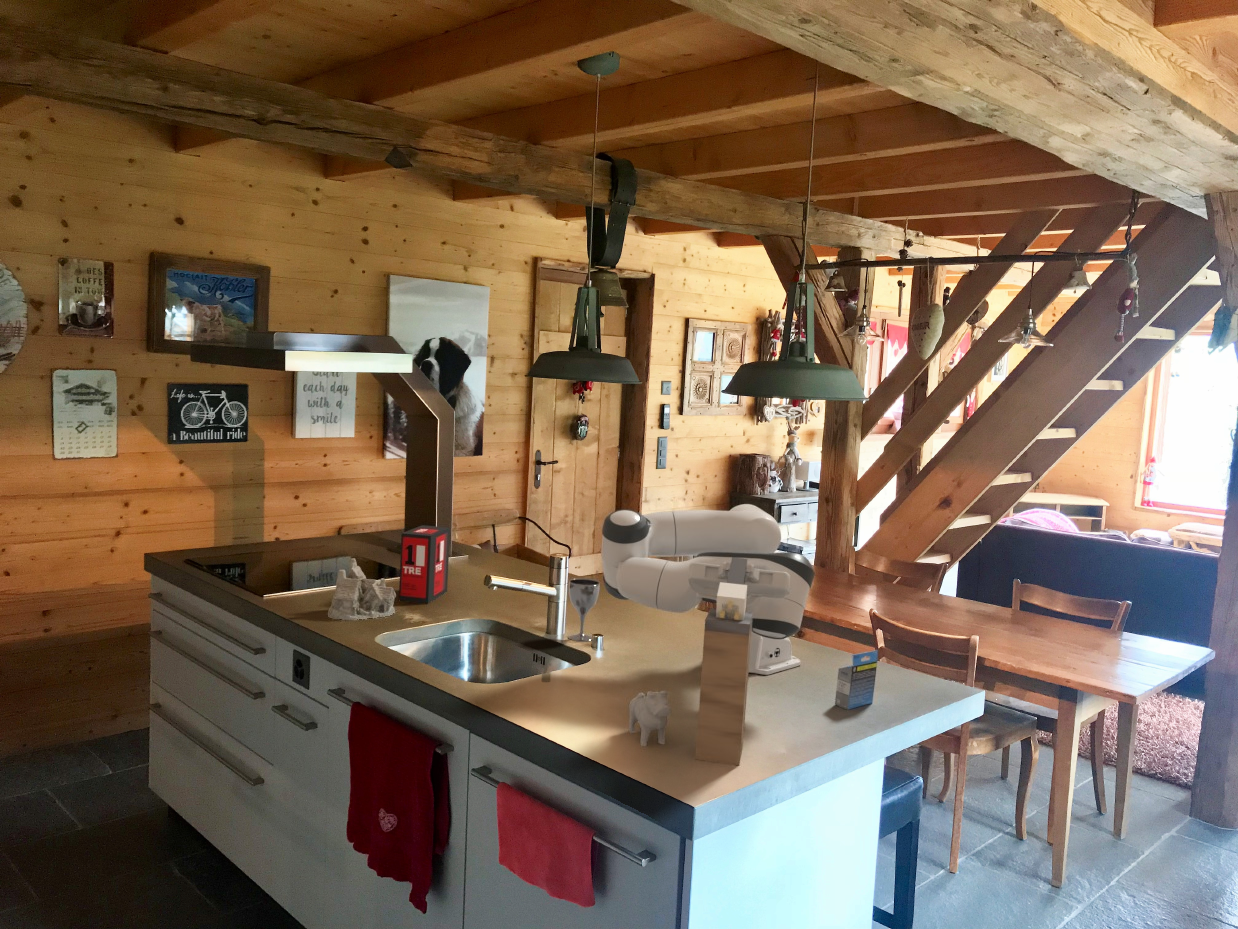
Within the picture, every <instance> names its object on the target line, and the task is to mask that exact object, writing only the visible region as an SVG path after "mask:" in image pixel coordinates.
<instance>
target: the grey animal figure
mask: <svg viewBox="0 0 1238 929" xmlns="http://www.w3.org/2000/svg"><path fill="white" fill-rule="evenodd" d="M668 700H669V699H668V693H667V690H661V691H657V692H656V691H655V692H653V691H652V690H650V691H649V690H648V691H647V694H645V693H644V692H639V693H638V694H637V695H636V697H634V698H632V700H630V702H629V705H628V708H629V709H628V710H629V725H628V732H629V733H630V734H635V733H637V731H636V727H635V725H636V723H637V722H638V723H639V727H640V729H641V731H640V733H641V734H640V740H639V742H640V743H639V745H640V746H644V747H646V746H648V740H649V736H650V733H651V732H653V731H657V743H658V744H661V745H665V744H666V740H665V737H666V733H665V732H666V728H667V725H668V717H669V716H670V714H671V712H672V709H671V708H670V705H669V701H668Z"/></svg>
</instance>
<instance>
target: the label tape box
mask: <svg viewBox="0 0 1238 929" xmlns="http://www.w3.org/2000/svg"><path fill="white" fill-rule="evenodd" d="M878 650H879V649H876V650H872V651H870V650H869V651H866V652H860V653H854V654H852V655H851V656H852V657H851V658H852V660H851V661H852V665H849V666H842V667H839V668H838V672H837V680H836V688H835V691H836V692H835V699H834V700H835V701H834V705H836V706H837V707H840V708H842V709H845V710H847V711H849V710H852V709H856V708H858V707H862V706H867V705H869V704H870V705H871V704H873V701H874V692H875V685H876V677H877V667H878V652H879V651H878ZM864 658H868V659H867V660H862V659H864Z"/></svg>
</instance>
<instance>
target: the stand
mask: <svg viewBox="0 0 1238 929" xmlns="http://www.w3.org/2000/svg"><path fill="white" fill-rule="evenodd" d="M752 618H753V613H749V612H745V615H744V620H734V619H727V618H718V617H716V608H712V607H711V608H710V609H709V611H708V612H707V615H706V616H705V619H704V632H703V648H702V660H701V675H700V689H699V690H700V691H699V704H698V715H697V716H698V718H697V728H696V729H697V731H696V732H697V734H696V743H695V744H696V747H695V759H694V760H695V761H696V760H697V761H698V760H699V761H705V762H710V763H711V762H712V763H720V764H727V765H734V766H740V765H741V760H742V753H743V748H744V747H743V746H744V739H745V738H744V737H745V736H744V735H745V725H746V724H745V722H746V711H747V710H746V709H747V696H748V685H749V684H748V683H749V673H750V672H749V658H750V645H751V632H752Z"/></svg>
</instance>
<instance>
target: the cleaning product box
mask: <svg viewBox="0 0 1238 929" xmlns="http://www.w3.org/2000/svg"><path fill="white" fill-rule="evenodd" d="M450 536H451V527H445V526H435V525H419V526H417V527H414V528H412V529H409V530H407V531H405V532H401V540H400V541H401V544H400V560H399V562H400V566H399V583H398V584H399V587H398V588H399V590H398V601H399V600H400V601H399V602H401V601H409V602H408V603H411V602H417V603H416V604H421V603H425V604H424V605H429V604H431V603H432V602H434V601H435V600H437V599H438V597H439V596H440V597H442V596H443V595H445V594H446V593H445V592H447V593H448V583H449V582H448V579H449V578H448V576H449V561H450V560H449V559H450V556H449V555H450V539H451V538H450ZM444 593H445V594H444ZM441 595H442V596H441ZM440 597H439V598H440ZM436 598H437V599H436ZM433 600H434V601H433ZM431 601H432V602H431ZM430 602H431V603H430ZM428 603H429V604H428Z"/></svg>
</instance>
